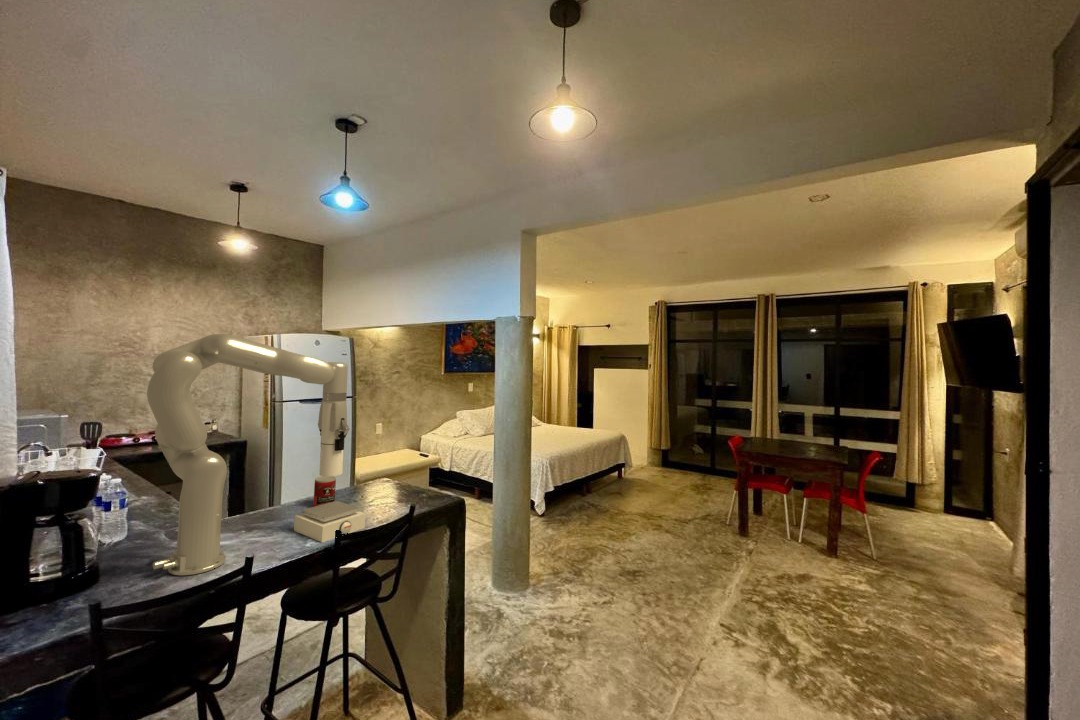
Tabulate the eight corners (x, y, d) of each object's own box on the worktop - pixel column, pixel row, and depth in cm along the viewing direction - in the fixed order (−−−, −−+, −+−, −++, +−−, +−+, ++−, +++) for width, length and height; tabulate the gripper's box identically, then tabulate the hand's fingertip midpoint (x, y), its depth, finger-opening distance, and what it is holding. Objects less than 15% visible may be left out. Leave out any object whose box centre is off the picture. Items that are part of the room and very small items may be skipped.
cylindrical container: (346, 473, 151) (350, 402, 151) (327, 477, 145) (331, 403, 145) (334, 470, 155) (337, 400, 155) (315, 474, 149) (318, 401, 149)
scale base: (323, 543, 138) (324, 527, 138) (294, 530, 147) (294, 516, 147) (366, 528, 152) (367, 514, 152) (337, 517, 161) (337, 504, 161)
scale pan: (324, 521, 141) (324, 518, 141) (301, 513, 148) (302, 509, 148) (359, 511, 152) (359, 508, 152) (336, 504, 159) (336, 500, 159)
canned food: (315, 510, 168) (317, 481, 168) (311, 504, 174) (312, 477, 174) (336, 506, 173) (338, 479, 173) (331, 501, 179) (333, 474, 179)
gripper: (309, 396, 151) (307, 447, 151) (340, 400, 143) (337, 454, 142) (329, 395, 158) (327, 444, 158) (360, 399, 149) (357, 450, 149)
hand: (332, 448), depth 150 cm, fingers closed on cylindrical container, 7 cm apart
